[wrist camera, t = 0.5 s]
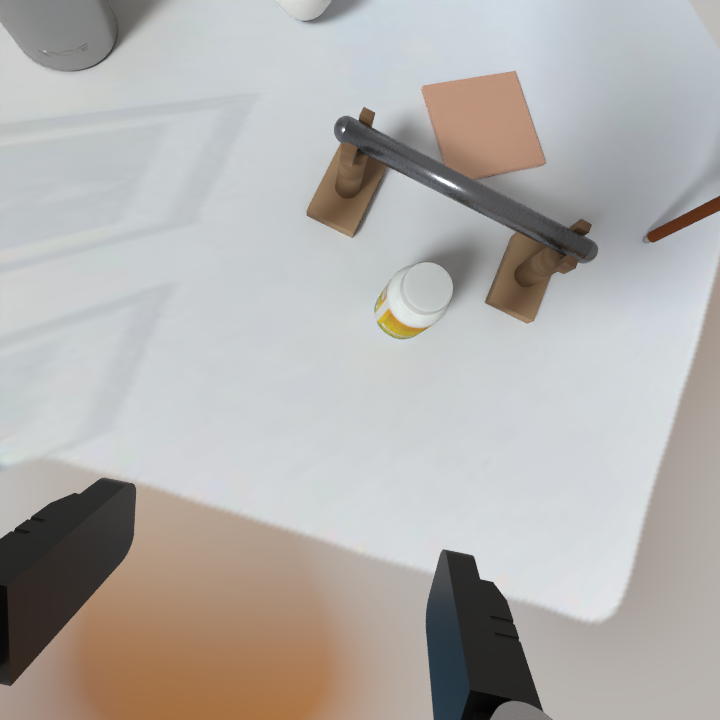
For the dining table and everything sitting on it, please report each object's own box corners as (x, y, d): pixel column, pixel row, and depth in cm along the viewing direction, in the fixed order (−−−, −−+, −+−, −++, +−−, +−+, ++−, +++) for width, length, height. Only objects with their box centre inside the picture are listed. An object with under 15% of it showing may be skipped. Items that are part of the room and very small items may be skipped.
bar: (329, 142, 35) (330, 126, 33) (339, 122, 35) (341, 105, 33) (583, 270, 36) (599, 262, 34) (590, 250, 37) (606, 241, 35)
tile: (421, 89, 45) (422, 85, 45) (512, 74, 47) (515, 71, 47) (450, 184, 45) (452, 181, 44) (543, 165, 46) (545, 162, 46)
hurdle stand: (306, 215, 42) (308, 158, 32) (340, 149, 43) (351, 76, 34) (527, 323, 44) (589, 298, 34) (552, 257, 45) (619, 215, 36)
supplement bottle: (368, 293, 42) (387, 258, 32) (419, 283, 43) (452, 246, 33) (380, 345, 41) (403, 325, 32) (431, 335, 42) (469, 312, 33)
